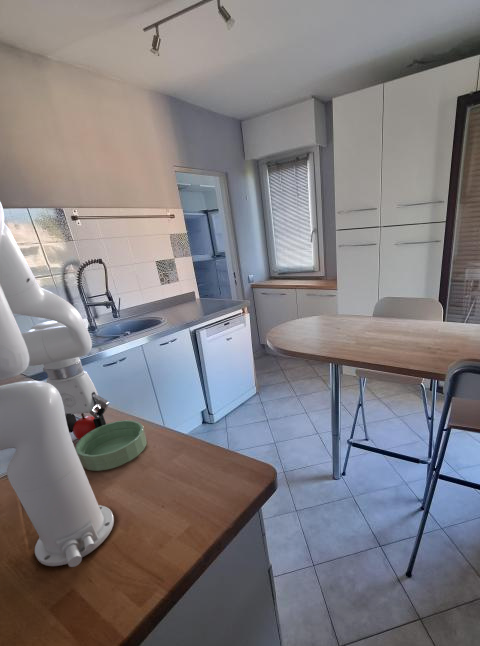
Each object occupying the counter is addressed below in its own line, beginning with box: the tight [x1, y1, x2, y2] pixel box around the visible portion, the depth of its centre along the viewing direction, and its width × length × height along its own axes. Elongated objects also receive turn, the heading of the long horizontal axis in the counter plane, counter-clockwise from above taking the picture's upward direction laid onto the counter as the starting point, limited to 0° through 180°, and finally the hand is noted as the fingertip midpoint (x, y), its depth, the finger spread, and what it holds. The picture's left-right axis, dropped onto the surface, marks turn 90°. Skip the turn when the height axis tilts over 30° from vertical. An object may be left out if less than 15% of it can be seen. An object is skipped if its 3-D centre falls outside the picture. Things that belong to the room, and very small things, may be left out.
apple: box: [72, 413, 96, 441], centre depth 91 cm, size 7×7×8 cm
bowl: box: [75, 419, 148, 472], centre depth 85 cm, size 15×15×5 cm
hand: (87, 428), depth 91 cm, fingers open, 7 cm apart
